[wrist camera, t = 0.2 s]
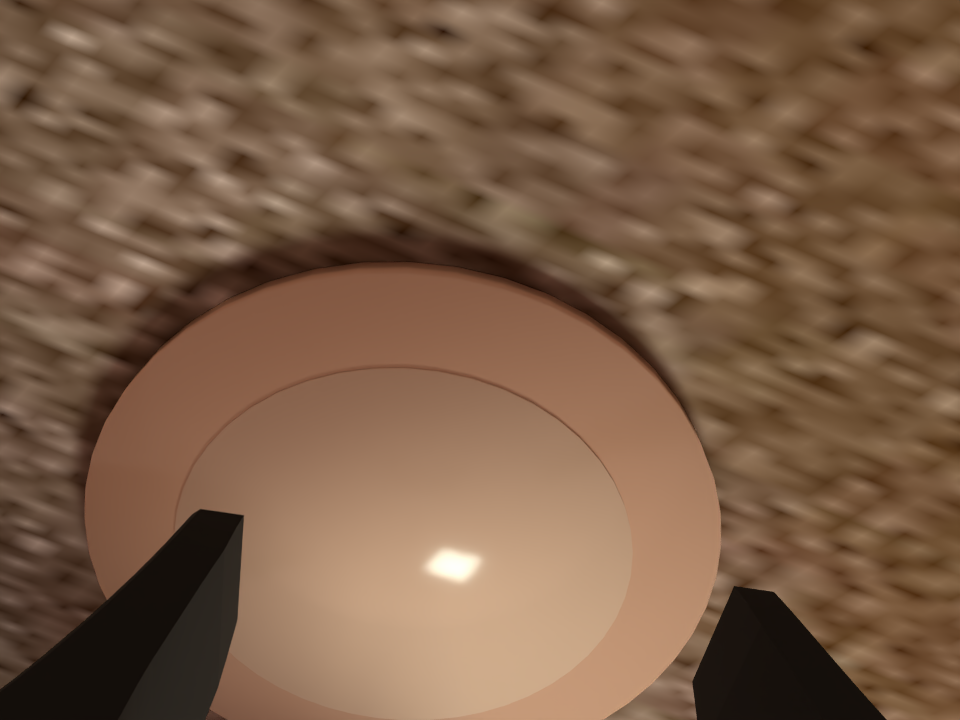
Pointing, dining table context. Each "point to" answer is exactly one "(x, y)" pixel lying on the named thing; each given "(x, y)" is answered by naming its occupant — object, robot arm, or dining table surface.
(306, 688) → the plate
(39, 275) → the dining table surface
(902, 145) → the dining table surface
